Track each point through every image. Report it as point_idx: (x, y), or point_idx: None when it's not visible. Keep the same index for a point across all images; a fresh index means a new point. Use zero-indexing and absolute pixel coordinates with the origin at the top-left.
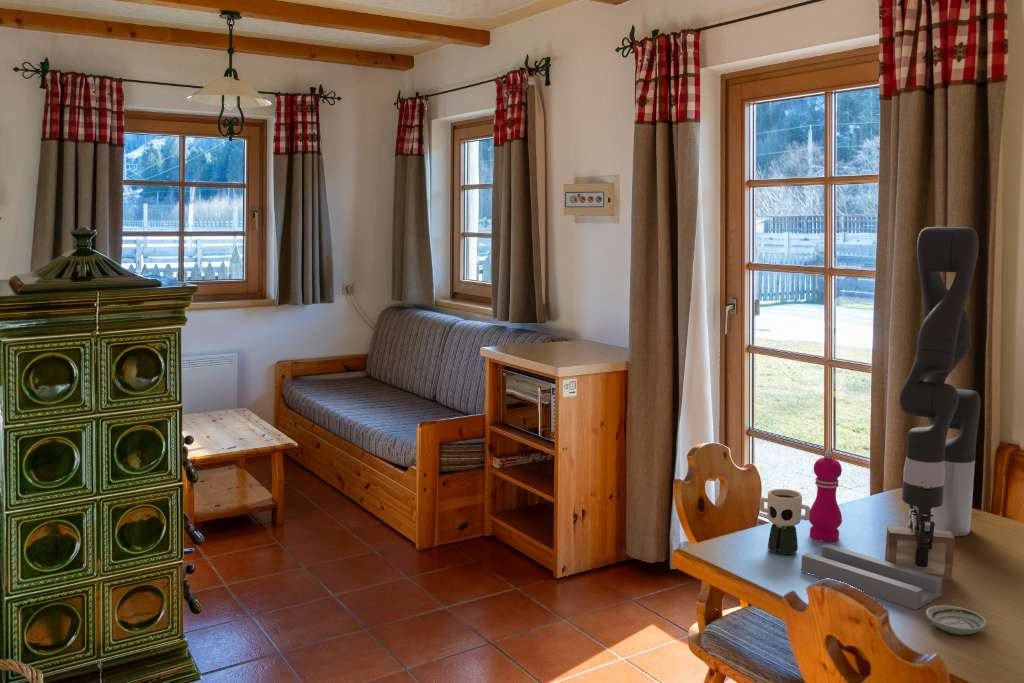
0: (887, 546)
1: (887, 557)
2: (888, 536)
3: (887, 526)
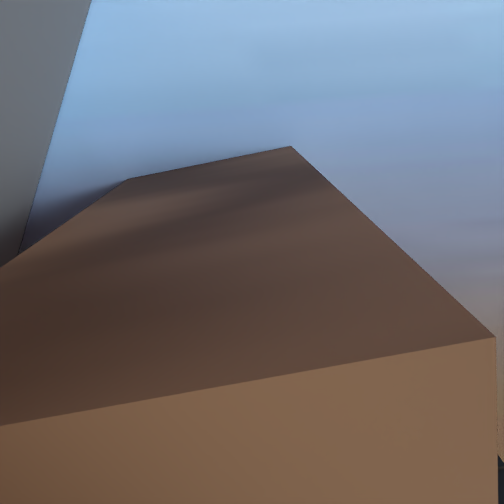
0: (176, 219)
1: (146, 198)
2: (71, 310)
3: (465, 352)
